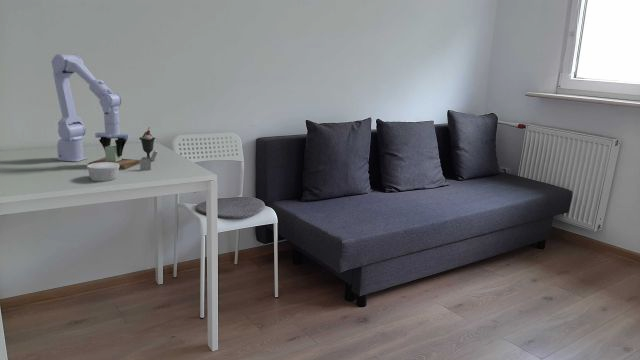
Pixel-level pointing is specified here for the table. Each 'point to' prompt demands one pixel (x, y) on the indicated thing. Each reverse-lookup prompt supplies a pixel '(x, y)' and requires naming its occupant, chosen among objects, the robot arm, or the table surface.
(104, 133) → the robot arm
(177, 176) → the table surface
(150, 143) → the sundae
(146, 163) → the lighter
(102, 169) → the ramekin
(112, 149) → the block
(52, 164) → the table surface
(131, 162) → the board
